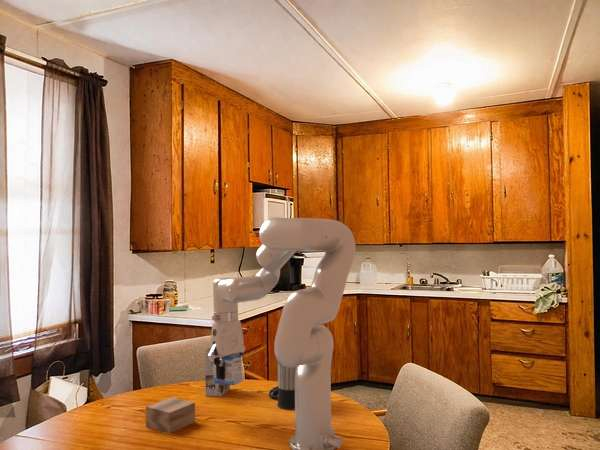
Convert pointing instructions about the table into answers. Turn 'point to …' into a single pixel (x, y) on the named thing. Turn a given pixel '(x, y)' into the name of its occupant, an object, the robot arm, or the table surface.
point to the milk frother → (285, 387)
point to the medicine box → (230, 370)
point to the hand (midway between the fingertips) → (227, 376)
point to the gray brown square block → (170, 414)
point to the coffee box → (212, 379)
